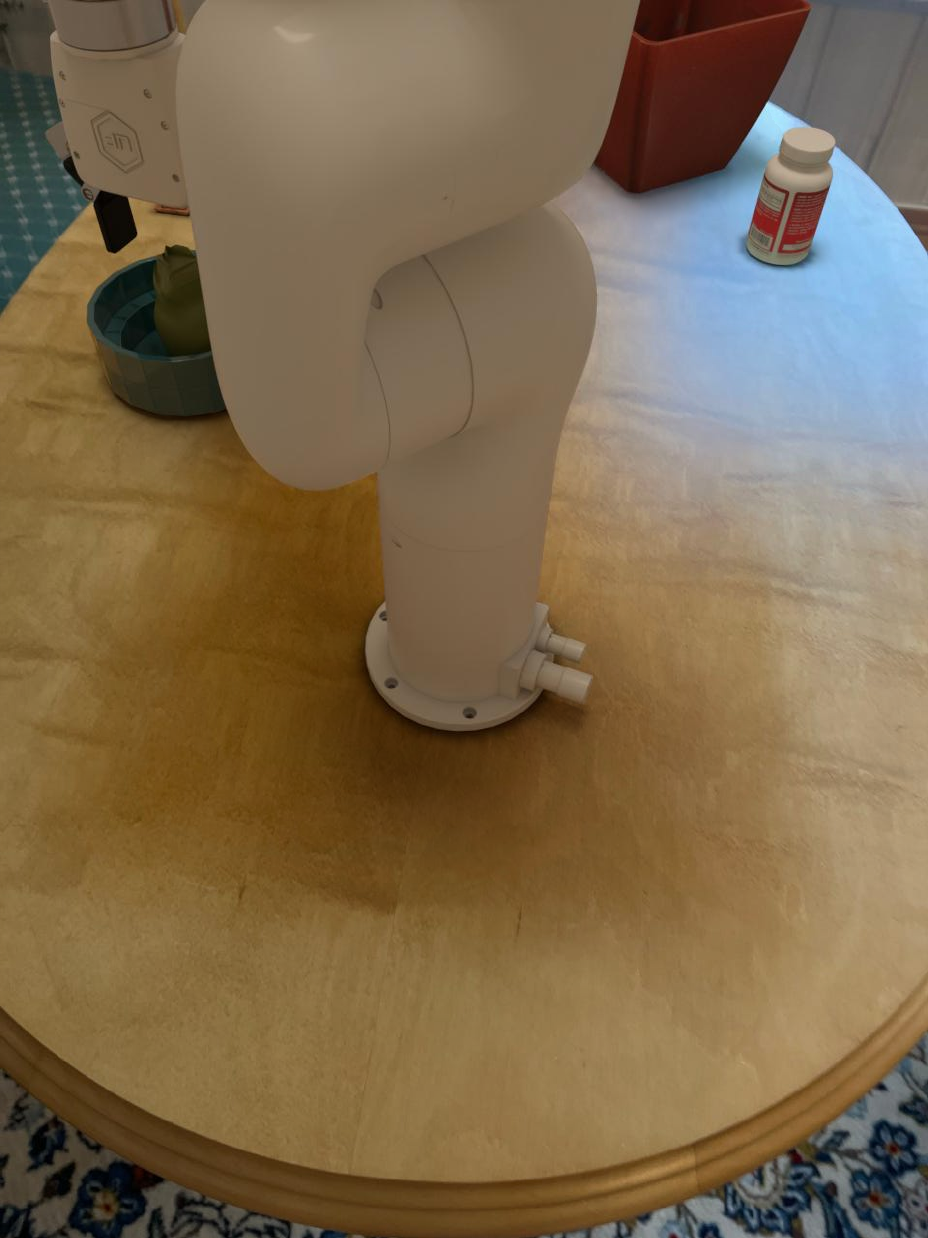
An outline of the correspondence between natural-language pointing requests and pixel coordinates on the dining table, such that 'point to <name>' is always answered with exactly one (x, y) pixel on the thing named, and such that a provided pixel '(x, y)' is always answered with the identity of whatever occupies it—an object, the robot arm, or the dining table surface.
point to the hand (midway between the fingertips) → (175, 257)
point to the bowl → (147, 349)
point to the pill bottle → (792, 197)
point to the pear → (180, 303)
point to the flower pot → (695, 86)
